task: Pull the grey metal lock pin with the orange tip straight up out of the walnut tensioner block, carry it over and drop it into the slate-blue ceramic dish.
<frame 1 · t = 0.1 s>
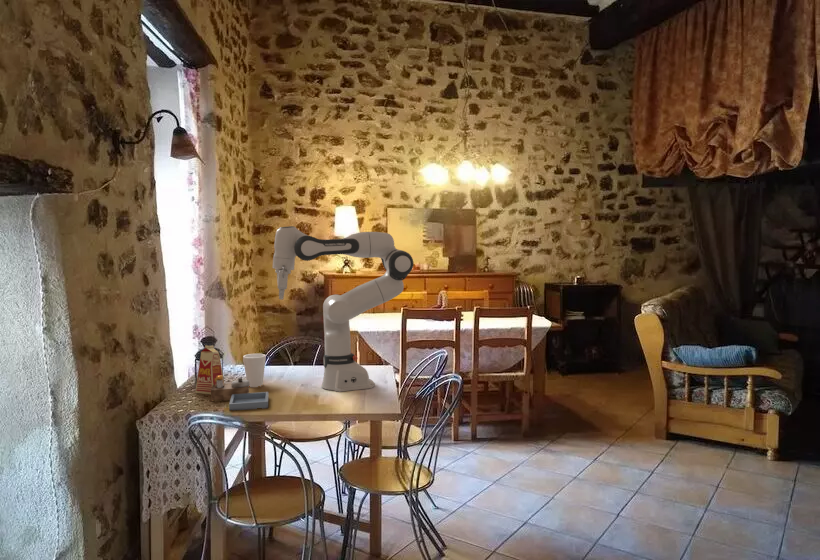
hand: (280, 298, 249), 39 cm above the table, tool pointing down, fingers open, 8 cm apart
foam cup: (255, 385, 259), on the table
milk carton: (210, 391, 251), on the table
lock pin: (220, 397, 240), resting in tensioner block
tensioner block: (230, 397, 241), on the table
dish: (249, 404, 231), on the table
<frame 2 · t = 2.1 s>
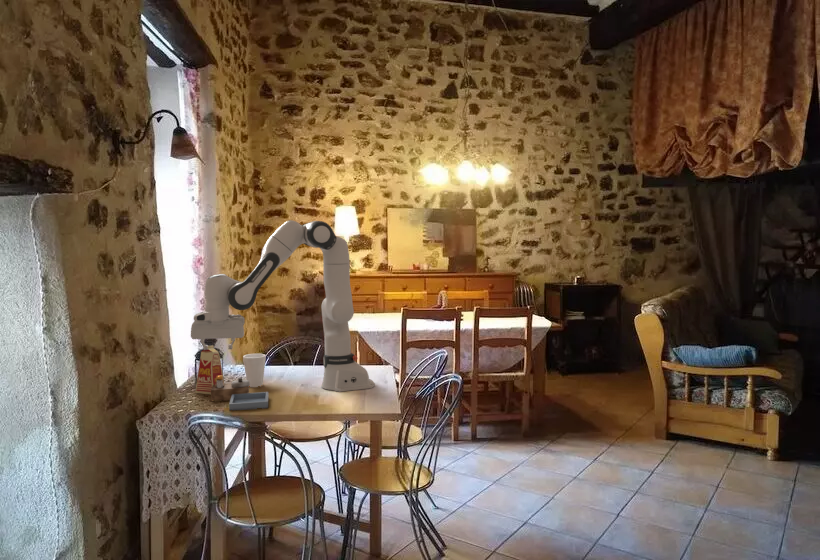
hand: (218, 349, 238), 20 cm above the table, tool pointing down, fingers open, 8 cm apart
nothing on the table moved.
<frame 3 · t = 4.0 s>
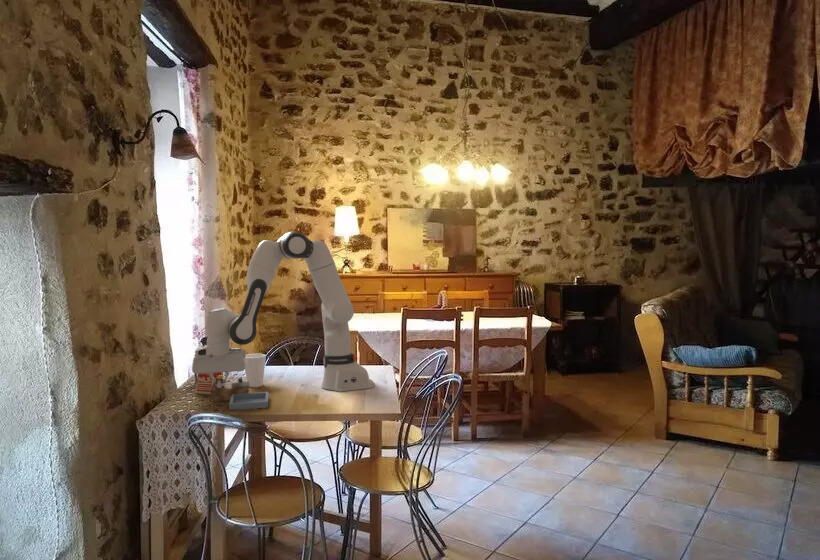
hand: (219, 383, 240), 6 cm above the table, tool pointing down, fingers closed on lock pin, 2 cm apart
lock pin: (220, 397, 240), resting in tensioner block, touching gripper
everything else where it was.
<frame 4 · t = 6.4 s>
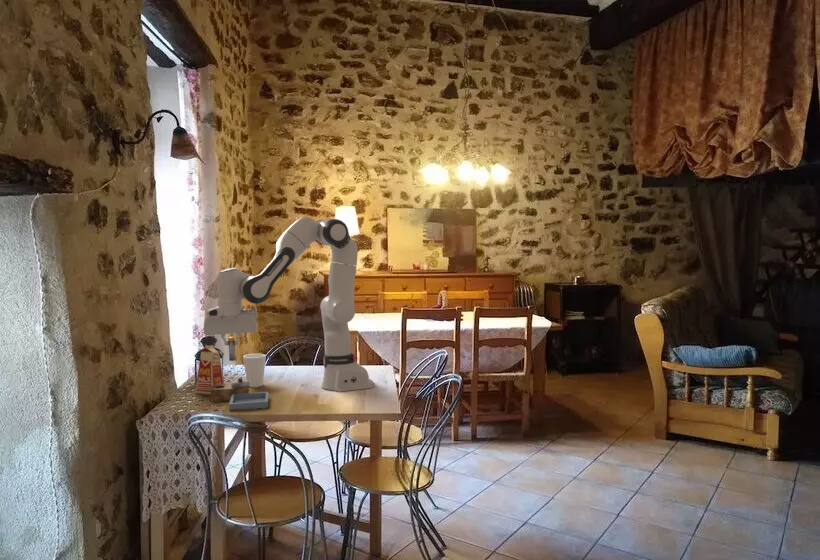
hand: (231, 344, 235), 22 cm above the table, tool pointing down, fingers closed on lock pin, 2 cm apart
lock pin: (232, 360, 236), point 16 cm above the table, touching gripper
everything else where it was.
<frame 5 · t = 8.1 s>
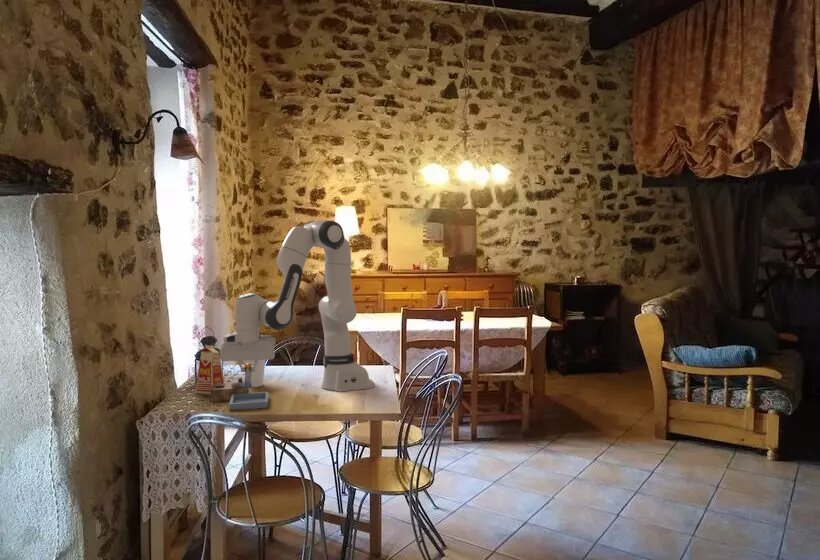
hand: (248, 371, 230), 13 cm above the table, tool pointing down, fingers closed on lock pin, 2 cm apart
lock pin: (248, 387, 231), point 7 cm above the table, touching gripper
everything else where it was.
when the fingers open (9 cm above the table, at t = 9.1 s): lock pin drops 2 cm, resting on dish.
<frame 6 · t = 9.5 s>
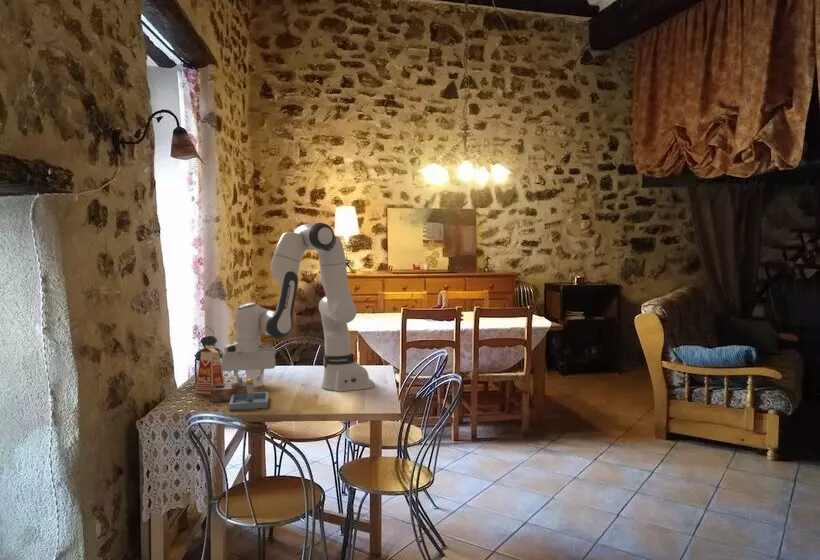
hand: (249, 381, 231), 9 cm above the table, tool pointing down, fingers open, 6 cm apart
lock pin: (250, 402, 231), point 1 cm above the table, touching dish
everything else where it was.
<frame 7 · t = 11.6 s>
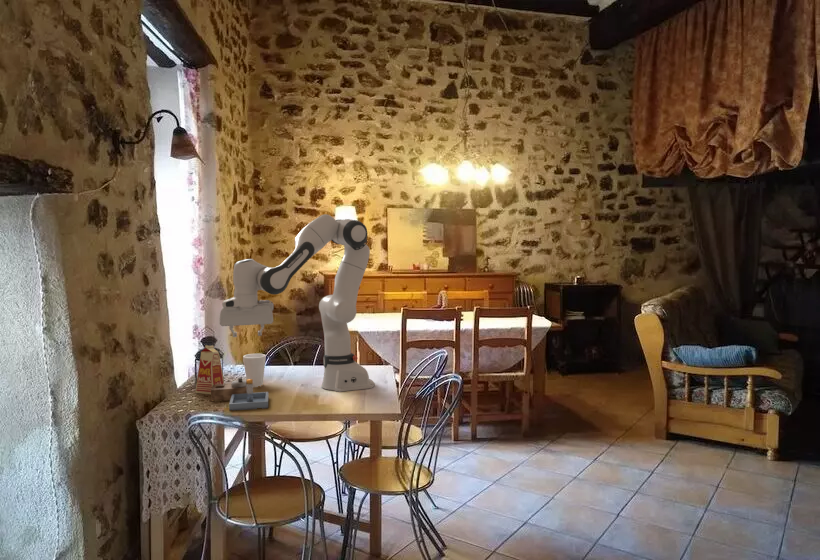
hand: (247, 336, 234), 26 cm above the table, tool pointing down, fingers open, 8 cm apart
nothing on the table moved.
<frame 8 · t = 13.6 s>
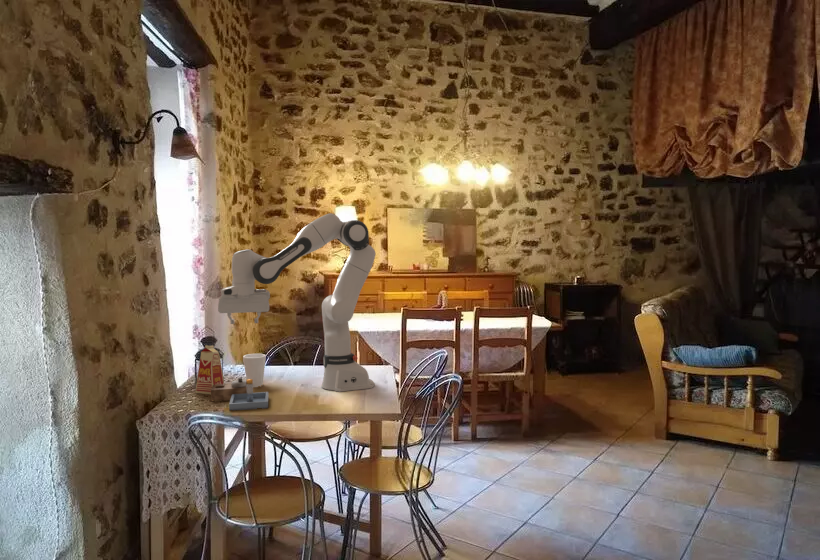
hand: (244, 323, 245), 29 cm above the table, tool pointing down, fingers open, 8 cm apart
nothing on the table moved.
at the end: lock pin inside the target area on the dish (0.2 cm from its centre), point 0.6 cm above the dish's base; the gripper is holding nothing; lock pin moved 16.8 cm from its start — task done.
